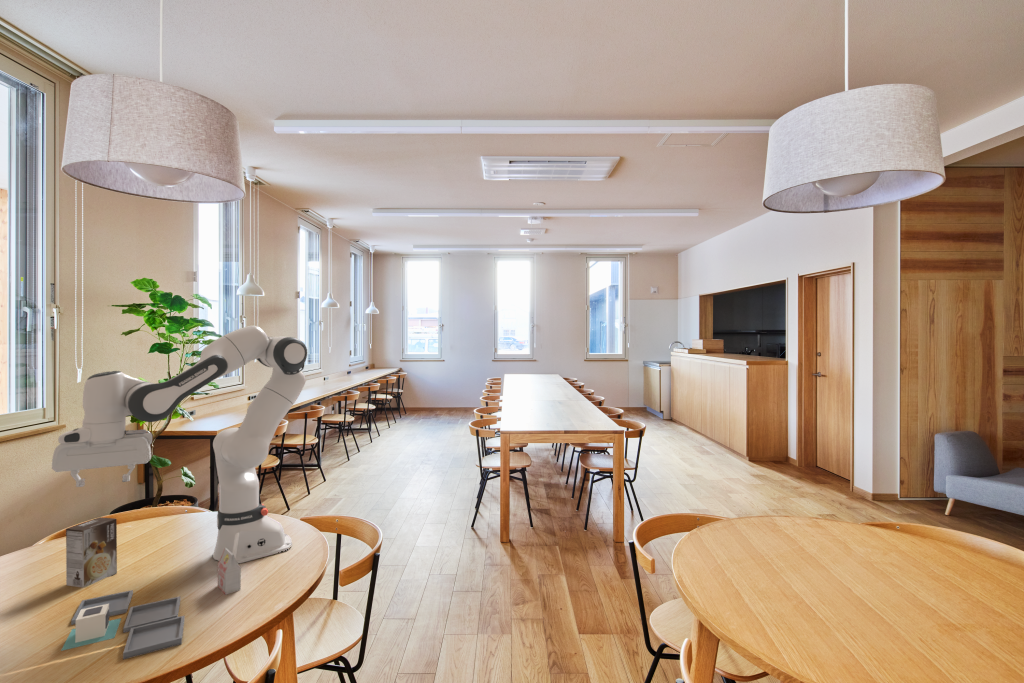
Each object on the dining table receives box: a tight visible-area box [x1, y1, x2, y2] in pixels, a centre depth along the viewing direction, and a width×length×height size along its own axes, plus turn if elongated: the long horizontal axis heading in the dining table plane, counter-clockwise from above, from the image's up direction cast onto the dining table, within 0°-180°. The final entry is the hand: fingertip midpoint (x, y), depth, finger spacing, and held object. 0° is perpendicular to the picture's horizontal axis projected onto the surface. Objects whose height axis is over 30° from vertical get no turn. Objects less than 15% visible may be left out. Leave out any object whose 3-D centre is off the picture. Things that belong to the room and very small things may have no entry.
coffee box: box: [65, 516, 118, 588], centre depth 135 cm, size 9×6×16 cm
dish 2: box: [122, 595, 181, 634], centre depth 117 cm, size 10×10×1 cm
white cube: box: [75, 604, 110, 643], centre depth 110 cm, size 5×5×5 cm
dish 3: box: [122, 615, 185, 660], centre depth 109 cm, size 10×10×1 cm
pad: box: [60, 617, 122, 652], centre depth 110 cm, size 9×9×1 cm
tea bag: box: [217, 548, 242, 596], centre depth 132 cm, size 4×7×10 cm, turn 47°
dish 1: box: [70, 589, 134, 626], centre depth 120 cm, size 10×10×1 cm
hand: (103, 483), depth 129 cm, fingers open, 8 cm apart
